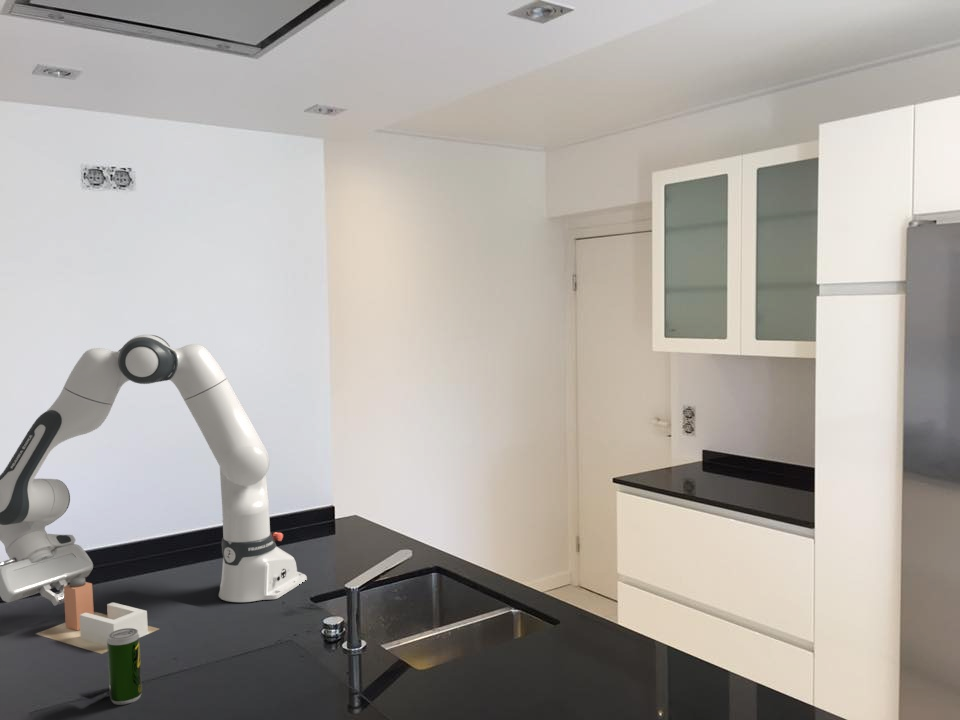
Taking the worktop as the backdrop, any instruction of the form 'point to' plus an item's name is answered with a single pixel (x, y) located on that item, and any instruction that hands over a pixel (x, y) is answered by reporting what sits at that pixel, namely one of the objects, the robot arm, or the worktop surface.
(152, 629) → the base board
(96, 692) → the worktop surface
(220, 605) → the worktop surface
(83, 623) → the socket
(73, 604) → the plug
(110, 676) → the beer can
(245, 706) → the worktop surface
